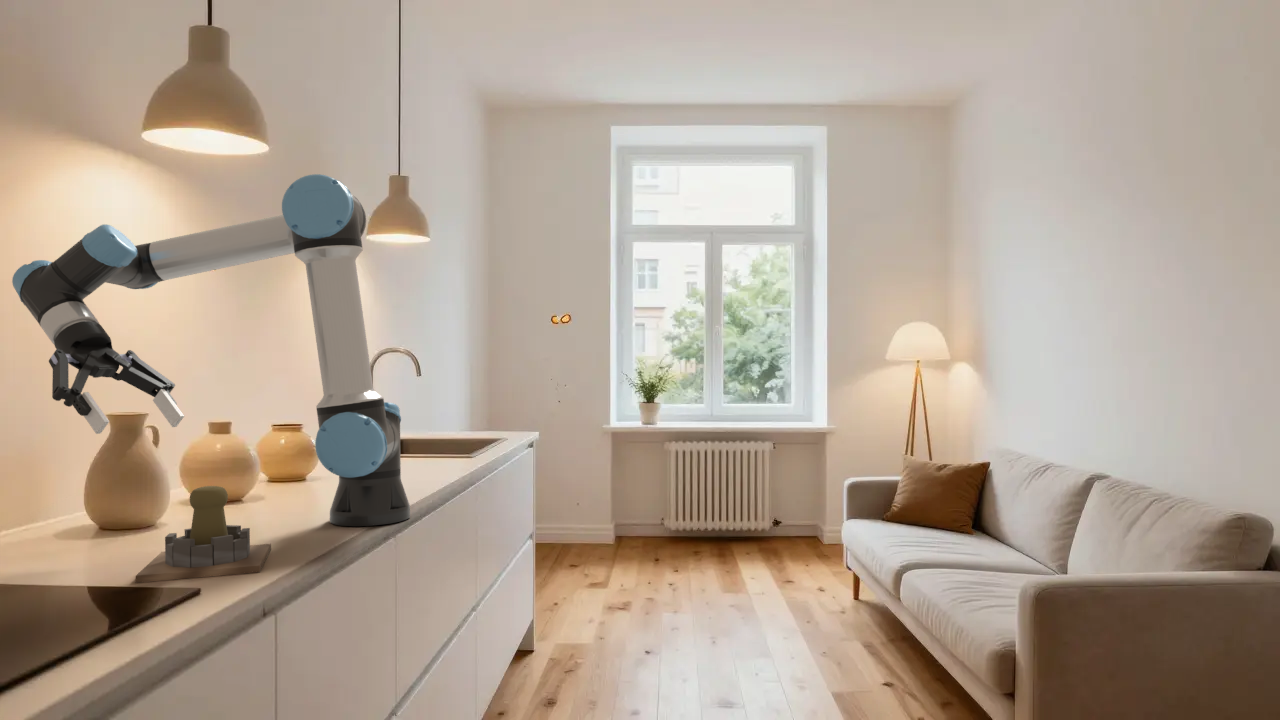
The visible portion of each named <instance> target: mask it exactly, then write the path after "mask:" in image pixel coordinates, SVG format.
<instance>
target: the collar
mask: <svg viewBox="0 0 1280 720" xmlns="http://www.w3.org/2000/svg"><path fill="white" fill-rule="evenodd" d="M226 526H227V533H228V535H225V536H219V537H212V538H211V544H209V545H195V539H190V534H191V528H185V529H184V535H183V536H179V537H178V533H177V532H173V533H172V532H171V533H170V532H169V533H167V535H165V537H164V540H165V542H164V544H165V545H164V546H165V548H164V550H165V551H161V552H160V553H159V554H158V555H157V556H156V557H155V558H154V557H153V559H152V560H151V561H150V562H149V563H148V564H147V565H146V566H144V567H143V568H142V569H141V570H140V571H139V572H138V573H136V574H135V584H136V583H137V584H138V583H149V582H151V583H152V582H161V581H172V580H173V581H174V580H184V579H196V578H207V577H218V576H221V577H222V576H230V575H231V576H232V575H242V574H243V575H244V574H255V573H256V574H257V573H260V572H261V571H262V568H263V567H264V564H265V562H266V560H267V558H268V556H269V555H270V552H271V550H272V543H264V544H263V543H259V544H251V542H250V541H251V539H250V538H251V537H250V536H251V535H250V534H251V532H250V531H251V530H250V529H251V527H246V528H245V527H244V528H242V525H235V524H230V525H229V524H226Z"/></svg>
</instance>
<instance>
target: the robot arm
mask: <svg viewBox="0 0 1280 720" xmlns="http://www.w3.org/2000/svg"><path fill="white" fill-rule="evenodd" d="M281 213H282V215H277V216H272V217H267V218H263V219H257V220H253V221H247V222H242V223H238V224H233V225H228V226H224V227H218V228H212V229H208V230H205V231H200V232H199V231H198V232H194V233H190V234H185V235H180V236H175V237H169V238H165V239H160V240H156V241H152V242H148V243H147V242H146V243H142V244H137V245H136V244H134V243H133V242H132V241H131V239H129V237H127V235H125V234H124V233H123V232H122V231H121V230H119V229H117V228H115V227H114V226H112V225H110V224H105V223H104V224H100V225H99V226H98V227H95V228H94V229H93V230H92V231H90V232H87V233H86V234H85V235H83V237H82V238H81V239H80V240H78V241H77V242H76V243H75V244H73V245H72V246H71V247H70V248H68V250H66V251H65V252H64V253H63V254H62V255H61V256H59V257H58V258H57V259H54V261H50V260H45V259H44V260H43V259H38V260H33V261H31V262H30V263H28V264H27V263H26V264H23V265H21V266H20V267H18V269H16V270H15V272H14V273H13V275H12V277H11V278H12V279H11V280H12V281H11V283H12V286H13V289H14V290H15V291H16V293H17V296H18V297H19V299H20V301H21V303H22V304H23V305H24V306H25V307H26V309H27V310H28V311H29V312H30V314H31V315H32V316H33V318H34V319H35V321H36V322H37V323H38V324H39V327H40V328H41V329H42V330H43V332H44V333H45V335H46V336H47V337H48V339H49V340H50V342H51V343H52V344H53V346H54V348H55V351H54V352H53V354H52V355H51V356H50V357H49V360H48V363H49V366H50V367H51V368H52V385H51V387H52V388H51V391H52V392H51V393H52V394H51V395H52V398H51V399H53V400H54V401H56V402H59V401H62V400H64V401H63V405H64V406H66V407H72V406H73V408H74V409H75V411H76V412H77V414H79V415H80V416H83V418H84V419H85V420H86V421H87V423H88V424H89V426H90V427H91V428H92V430H93V432H94V433H95V434H96V435H98V434H102V432H103V431H104V430H105V429H106V427H107V425H108V424H109V423H110V420H109V419H108V417H107V416H106V415H105V413H104V412H103V410H102V409H101V408H100V406H99V405H98V402H96V400H95V399H94V398H93V396H92V395H91V394H90V392H89V391H85V392H83V390H84V387H85V385H86V383H87V380H88V378H89V376H90V377H92V378H95V379H97V378H101V377H102V378H111V379H114V380H116V381H123V382H125V383H127V384H128V385H131V386H133V387H134V388H136V389H138V390H141V392H144V393H146V394H147V395H149V396H151V397H153V399H152V401H153V404H155V405H156V407H157V409H158V410H159V411H160V412H161V413H162V415H163V416H164V418H165V419H166V421H167V422H168V423H169V425H170V426H171V428H177V427H178V426H179V424H180V422H181V421H182V420H183V418H185V415H184V413H183V412H182V411H181V409H180V408H179V407H178V404H177V401H176V400H175V399H174V397H173V395H171V392H172V391H173V390H174V389H175V387H176V384H175V383H174V382H173V381H172V380H170V379H169V378H168V377H166V376H165V375H163V374H162V373H161V372H159V371H158V370H156V369H155V368H153V367H152V366H150V364H148V363H147V362H145V361H143V360H142V358H140V357H139V356H138V354H136V353H135V351H133V350H131V349H128V350H127V351H126V353H119V352H117V351H116V350H114V348H113V345H112V339H111V336H109V334H108V333H107V331H106V330H105V329H104V328H103V326H102V325H101V324H100V322H99V321H98V318H97V317H96V316H95V315H94V314H93V312H92V311H91V310H90V308H89V307H88V306H87V304H86V303H85V301H84V299H86V298H87V297H88V296H90V295H91V294H93V293H94V292H95V291H96V290H98V289H99V288H100V287H101V286H102V285H104V284H105V283H106V284H112V285H116V286H121V287H125V288H128V289H132V290H146V289H150V288H152V287H153V286H155V285H157V284H158V283H161V282H165V281H167V280H168V281H169V280H172V279H177V278H178V279H179V278H182V277H187V276H188V277H189V276H192V275H197V274H201V273H207V272H211V271H215V270H220V269H224V268H229V267H234V266H239V265H243V264H244V265H245V264H249V263H254V262H259V261H262V260H267V259H272V258H278V257H282V256H287V255H291V254H294V256H295V257H296V258H297V259H298V260H299V261H301V262H302V263H303V264H304V265H305V271H306V277H307V285H308V292H309V299H310V307H311V313H312V314H311V315H312V320H313V327H314V334H315V341H316V342H315V343H316V348H317V356H318V363H319V369H320V378H321V379H320V380H321V385H322V392H323V396H322V398H321V400H319V402H318V403H317V404H316V405H315V406H316V415H317V423H318V424H317V425H318V430H317V433H316V436H315V437H316V438H315V440H314V443H315V444H314V445H315V446H314V449H315V454H316V456H317V458H318V460H319V462H320V463H321V465H322V466H323V467H324V468H325V469H326V470H327V471H329V472H330V473H331V474H334V475H335V476H338V485H337V487H336V491H335V494H334V497H333V500H332V503H331V506H330V509H329V523H330V524H332V525H335V526H342V527H343V526H345V527H370V526H381V525H389V524H395V523H399V522H404V521H406V520H408V519H410V517H411V505H410V502H409V499H408V496H407V493H406V491H405V488H404V485H403V482H402V477H401V475H402V474H401V473H402V472H401V467H402V466H401V465H402V463H401V421H402V416H401V413H400V412H401V411H400V410H401V409H400V408H399V405H397V404H396V403H394V402H389V401H387V402H385V400H384V396H383V395H382V394H380V393H379V392H377V391H376V390H375V389H374V385H373V377H372V370H371V362H370V355H369V349H368V340H367V333H366V325H365V319H364V311H363V306H362V299H361V298H362V297H361V291H360V284H359V276H358V271H357V270H358V269H357V258H358V257H359V256H360V255H361V253H362V252H363V249H364V248H363V243H362V237H363V235H364V233H365V230H366V226H367V215H366V211H365V208H364V207H363V205H362V203H361V202H360V200H359V199H358V198H357V197H356V196H354V195H353V193H352V192H351V191H350V189H349V188H348V187H347V186H346V185H345V184H344V183H343V182H342V181H340V180H338V179H336V178H335V177H334V178H333V177H331V176H328V175H326V174H325V175H324V174H318V173H317V174H315V173H314V174H308V175H304V176H302V177H300V178H297V179H296V180H295V181H294V182H292V183H291V184H290V185H289V186H288V188H287V189H286V190H285V192H284V195H283V197H282V201H281ZM69 366H71V367H74V368H75V369H76V370H78V371H77V373H76V376H75V378H74V381H73V383H72V385H71V387H70V388H69V386H70V385H69V382H70V381H69V380H70V379H69ZM120 367H122V369H121V370H120V371H119V369H120ZM118 371H119V372H118ZM82 392H83V393H82Z"/></svg>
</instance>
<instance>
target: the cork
mask: <svg viewBox="0 0 1280 720" xmlns="http://www.w3.org/2000/svg"><path fill="white" fill-rule="evenodd" d="M227 491H228V490H226V488H225V487H223V486H217V485H207V486H206V485H205V486H201V487H197V488H195V489H192V491H191V493H190V495H189V503H190V506H191V508H193V513H192V519H191V534H190V539H195V545H209V544H211V538H212V537H219V536H225V535H228V533H227V526H226V525H227V520H226V519H227V518H226V513H225V508H224V507H225V506H226V505H227V502H228V498H229V495H228V492H227Z"/></svg>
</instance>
